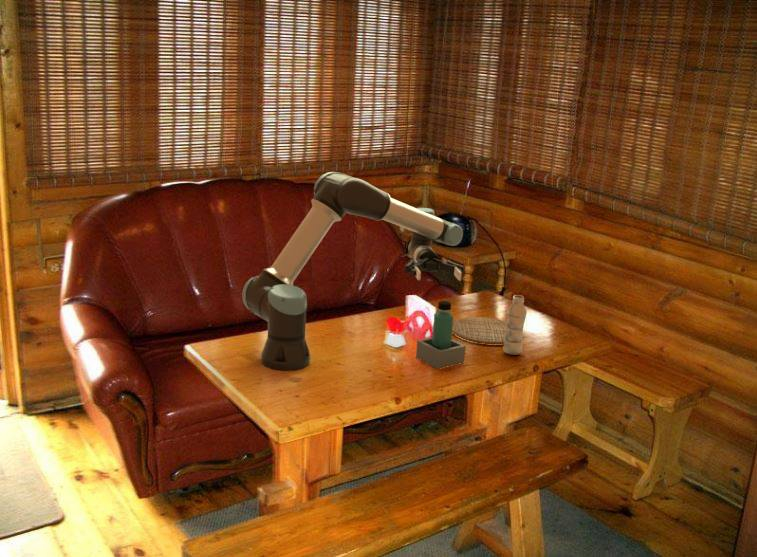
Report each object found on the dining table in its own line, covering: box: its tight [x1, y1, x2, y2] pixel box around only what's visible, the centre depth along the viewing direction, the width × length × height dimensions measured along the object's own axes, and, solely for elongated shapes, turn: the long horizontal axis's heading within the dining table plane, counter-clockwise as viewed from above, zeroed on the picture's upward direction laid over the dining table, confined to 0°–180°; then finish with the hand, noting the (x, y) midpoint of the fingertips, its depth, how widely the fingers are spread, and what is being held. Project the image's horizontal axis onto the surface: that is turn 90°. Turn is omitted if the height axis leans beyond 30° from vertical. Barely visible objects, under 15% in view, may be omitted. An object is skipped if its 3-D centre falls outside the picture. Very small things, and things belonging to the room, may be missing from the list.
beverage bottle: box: [431, 300, 455, 350], centre depth 261 cm, size 6×7×20 cm
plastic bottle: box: [502, 294, 527, 356], centre depth 271 cm, size 6×7×20 cm
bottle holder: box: [415, 337, 466, 370], centre depth 263 cm, size 11×11×6 cm
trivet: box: [452, 316, 507, 344], centre depth 292 cm, size 25×25×2 cm
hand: (439, 276), depth 266 cm, fingers open, 13 cm apart
